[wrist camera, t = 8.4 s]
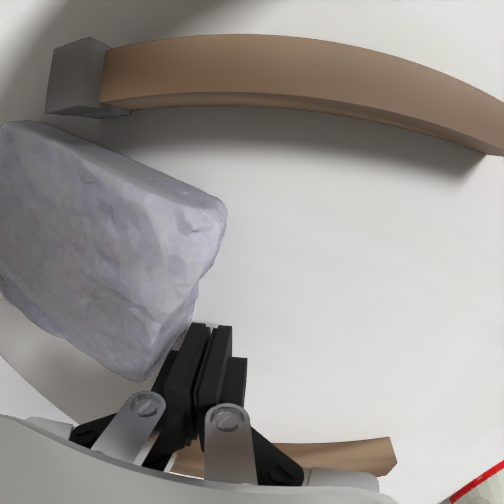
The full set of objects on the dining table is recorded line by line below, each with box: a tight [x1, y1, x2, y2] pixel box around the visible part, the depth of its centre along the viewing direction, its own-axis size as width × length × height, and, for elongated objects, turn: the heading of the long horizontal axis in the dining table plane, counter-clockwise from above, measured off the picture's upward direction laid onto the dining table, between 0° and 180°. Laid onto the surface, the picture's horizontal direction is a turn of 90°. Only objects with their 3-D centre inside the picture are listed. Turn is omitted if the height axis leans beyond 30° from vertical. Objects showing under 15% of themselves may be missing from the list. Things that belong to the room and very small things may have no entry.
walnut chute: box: [45, 34, 504, 478], centre depth 11 cm, size 23×18×4 cm
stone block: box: [0, 120, 227, 383], centre depth 11 cm, size 12×5×10 cm
